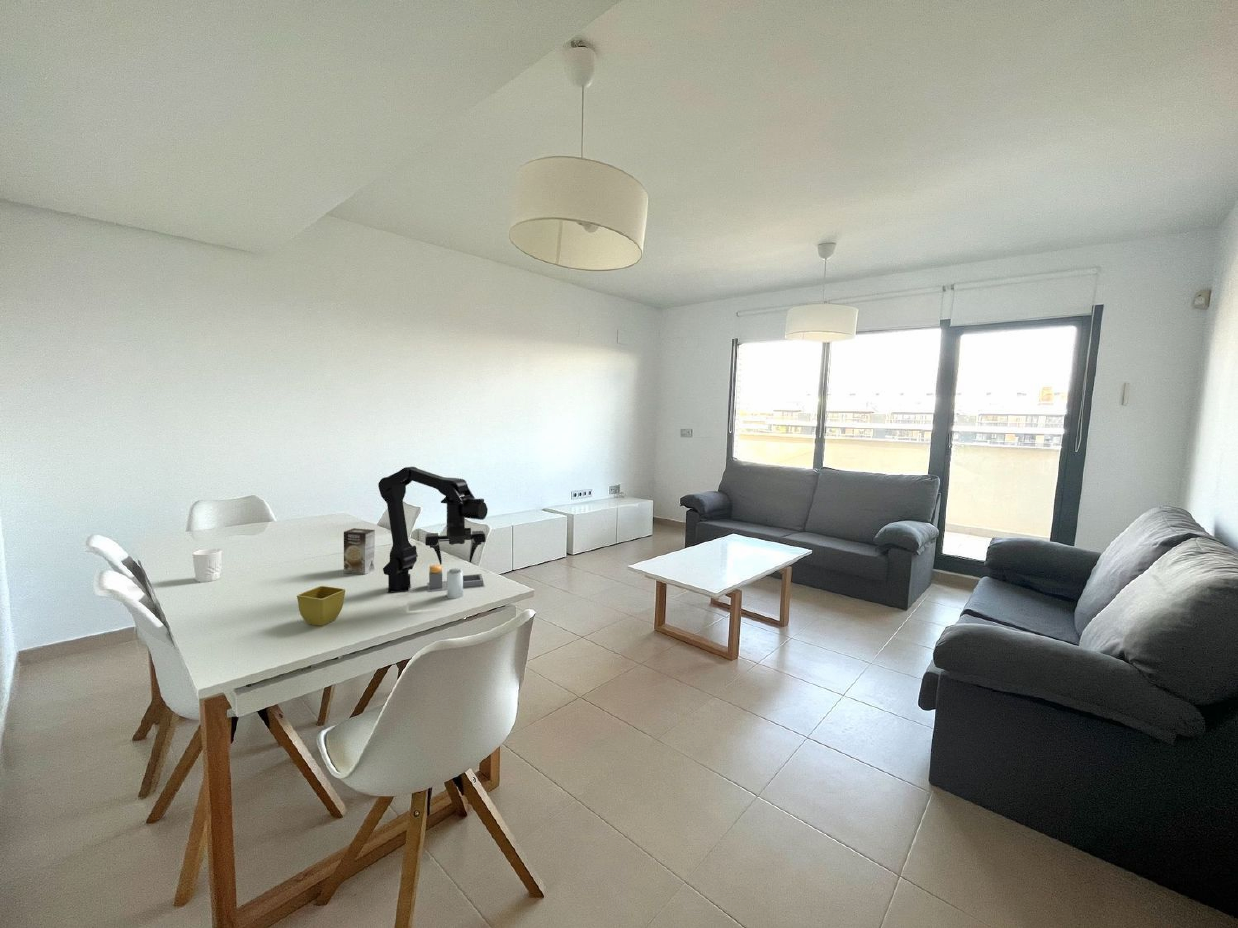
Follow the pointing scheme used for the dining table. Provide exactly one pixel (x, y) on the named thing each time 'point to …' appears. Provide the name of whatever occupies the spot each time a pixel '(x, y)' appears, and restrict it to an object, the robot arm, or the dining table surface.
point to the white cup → (207, 564)
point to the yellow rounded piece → (435, 569)
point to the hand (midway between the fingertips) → (455, 563)
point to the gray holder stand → (440, 585)
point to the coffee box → (359, 551)
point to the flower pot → (321, 604)
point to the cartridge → (455, 583)
